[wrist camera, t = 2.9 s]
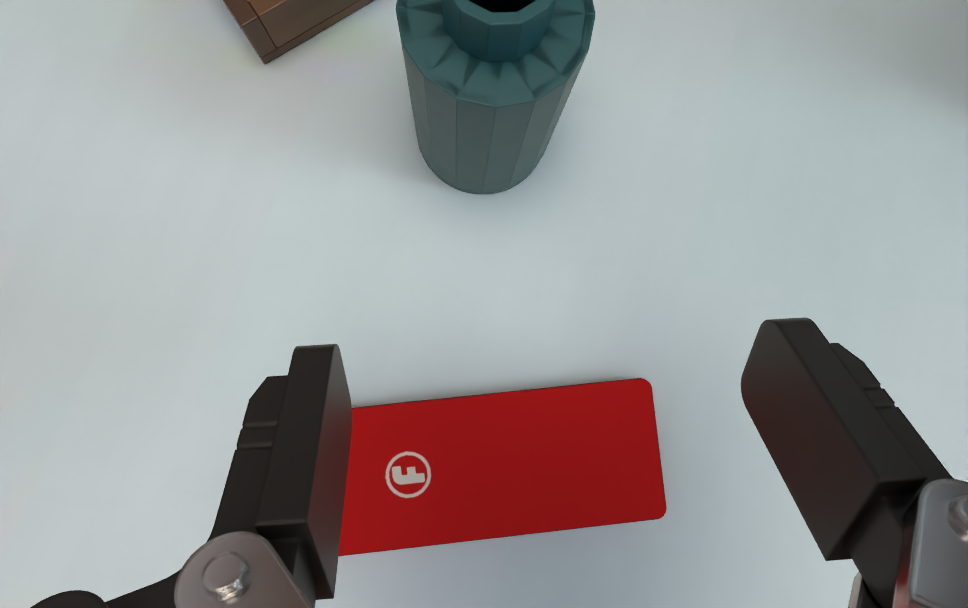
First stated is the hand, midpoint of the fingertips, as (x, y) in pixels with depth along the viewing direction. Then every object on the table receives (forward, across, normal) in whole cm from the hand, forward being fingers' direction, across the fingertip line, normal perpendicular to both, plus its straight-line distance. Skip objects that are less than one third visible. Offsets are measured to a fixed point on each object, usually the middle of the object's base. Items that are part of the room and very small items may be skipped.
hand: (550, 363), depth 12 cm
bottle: (+18, 0, +3) cm, 18 cm away
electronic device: (+7, +1, +13) cm, 15 cm away
